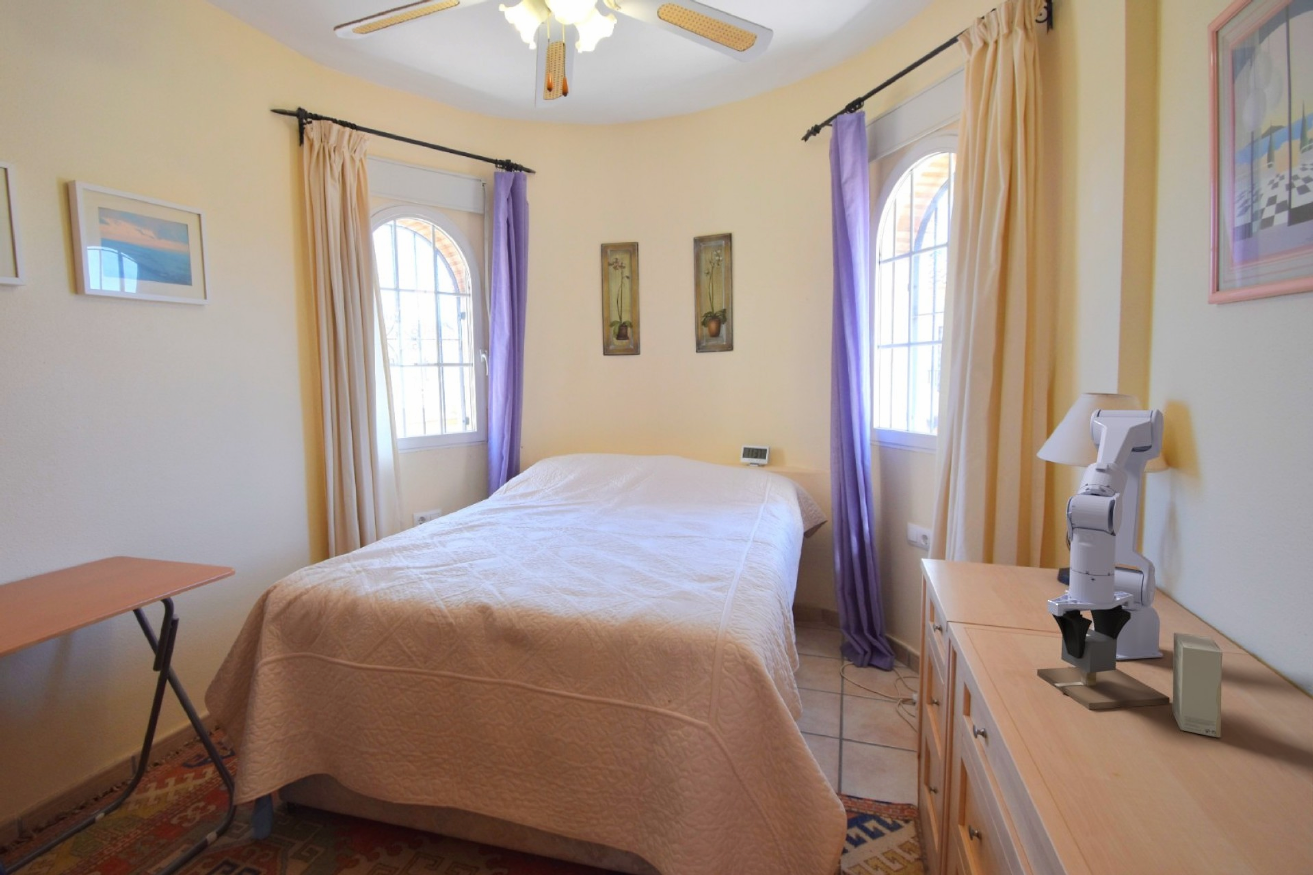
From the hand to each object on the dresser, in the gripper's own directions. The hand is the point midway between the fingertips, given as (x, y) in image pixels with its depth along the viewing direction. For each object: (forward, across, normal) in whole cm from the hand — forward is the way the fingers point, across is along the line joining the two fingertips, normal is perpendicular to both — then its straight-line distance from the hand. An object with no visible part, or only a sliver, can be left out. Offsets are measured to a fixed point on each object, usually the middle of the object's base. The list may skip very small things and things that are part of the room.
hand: (1089, 653), depth 95 cm
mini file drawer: (+2, 0, 0) cm, 2 cm away
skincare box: (+6, -6, +12) cm, 14 cm away
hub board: (+6, -2, 0) cm, 6 cm away
